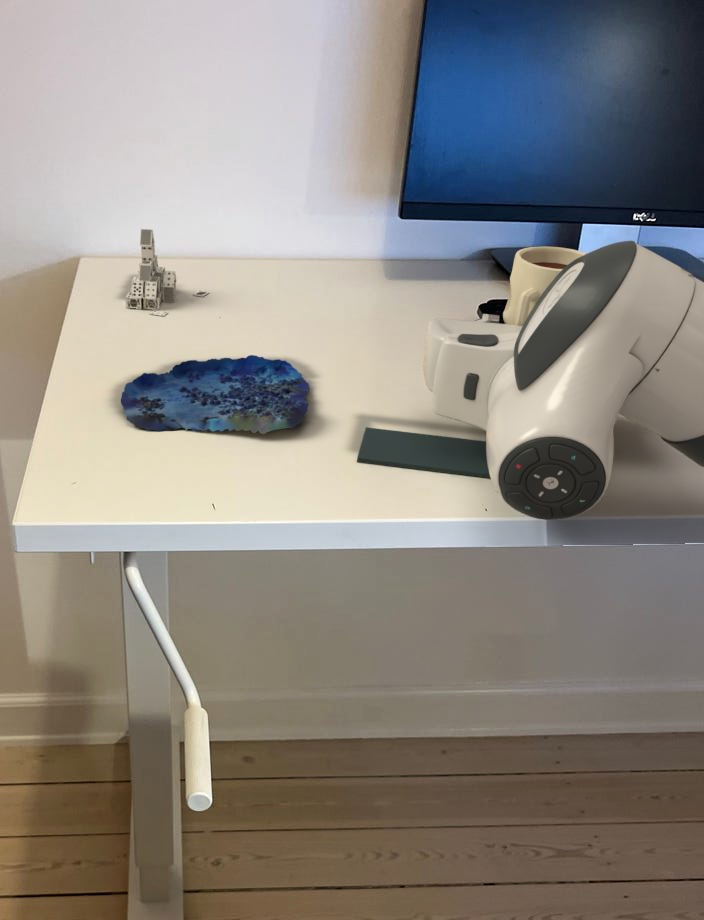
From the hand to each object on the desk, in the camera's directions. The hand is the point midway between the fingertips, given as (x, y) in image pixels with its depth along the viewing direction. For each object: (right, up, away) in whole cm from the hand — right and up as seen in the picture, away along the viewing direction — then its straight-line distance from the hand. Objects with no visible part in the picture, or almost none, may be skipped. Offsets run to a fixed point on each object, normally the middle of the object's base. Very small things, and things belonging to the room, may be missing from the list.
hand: (542, 327), depth 90 cm
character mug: (0, -5, +5) cm, 7 cm away
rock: (-29, -7, +3) cm, 30 cm away
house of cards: (-35, +10, +24) cm, 44 cm away
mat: (-10, -13, -5) cm, 17 cm away
